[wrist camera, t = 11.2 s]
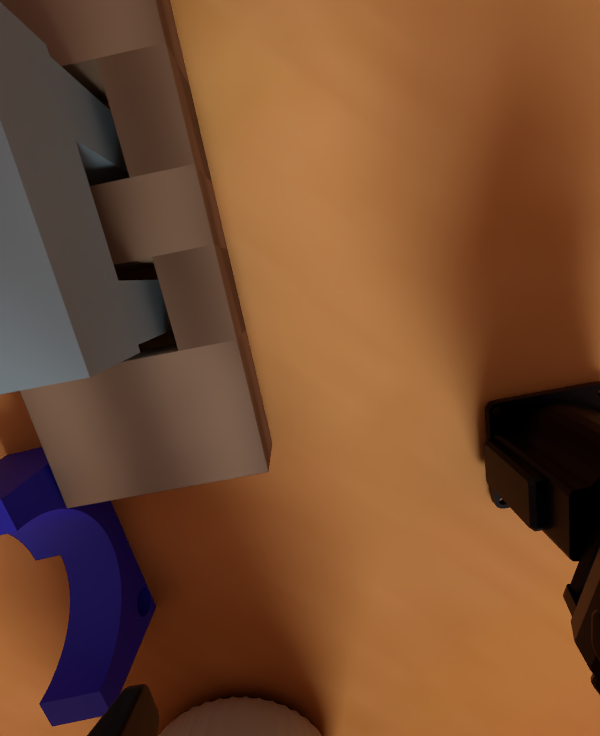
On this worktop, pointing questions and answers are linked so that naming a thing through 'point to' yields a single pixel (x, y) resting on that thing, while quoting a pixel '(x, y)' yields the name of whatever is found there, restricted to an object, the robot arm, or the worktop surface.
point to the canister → (240, 720)
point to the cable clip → (79, 585)
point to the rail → (174, 271)
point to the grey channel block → (59, 227)
